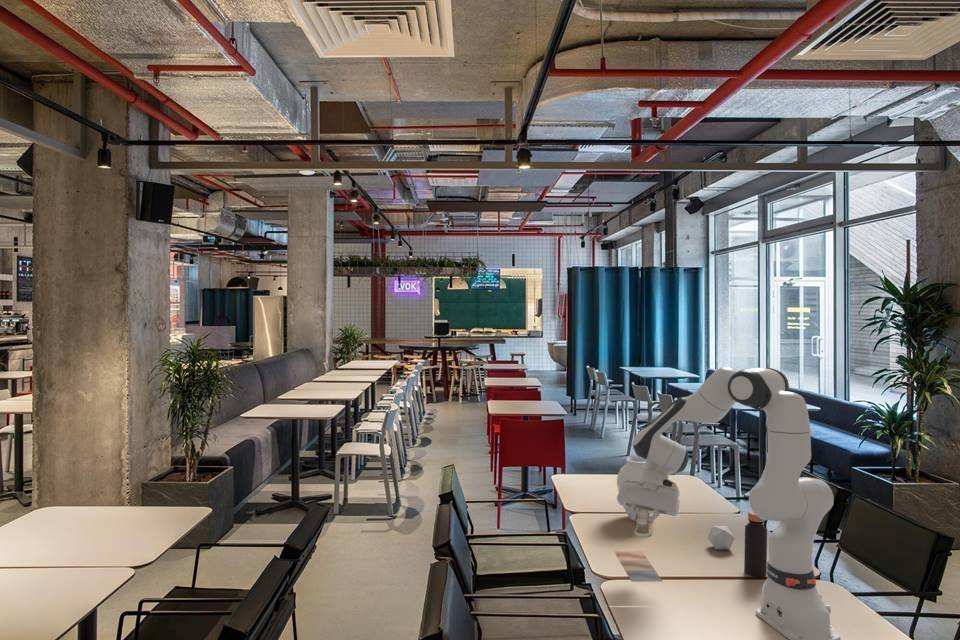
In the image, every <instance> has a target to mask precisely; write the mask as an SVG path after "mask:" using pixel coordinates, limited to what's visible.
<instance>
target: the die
mask: <svg viewBox="0 0 960 640" xmlns="http://www.w3.org/2000/svg"><path fill="white" fill-rule="evenodd" d="M735 538H736V537H735V536H734V534H733V532H732V531H731V529H729V527H728V526H727V525H712V526H711V529H710V531H709V533H708V536H707V539H708V540H709V542H710V543H711V545H712V547H713V548H714V549H715V550H717V551H718V550H720V551H721V550H725V551H726V550H731V548H732V545H733V543H734V541H735V540H736V539H735Z"/></svg>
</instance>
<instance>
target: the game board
mask: <svg viewBox="0 0 960 640" xmlns="http://www.w3.org/2000/svg"><path fill="white" fill-rule="evenodd" d="M614 553H615V555H616V557H617V559H618V560H619V562H620V565H621V566H622V567H623V569H624V571H625V572H626V575H627V576H628V578H629V580H630V582H663V580H662V578H661V577H660V576H659V574H658V572H657V571H656V570H655V568H654V567H653V565H652V563H651V562H650V561H649V559H648V558H647V556H646V555H645V553H644V551H642V550H641V551H637V550H633V551H632V550H630V551H629V550H628V551H627V550H626V551H625V550H624V551H622V550H621V551H618V550H617V551H615V550H614Z"/></svg>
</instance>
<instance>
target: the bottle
mask: <svg viewBox="0 0 960 640" xmlns="http://www.w3.org/2000/svg"><path fill="white" fill-rule="evenodd" d="M747 520H748V523H746V525H744V559H743V561H744V565H743V567H744V569H743V570H744V573H746V574H747V575H750V576H752V577H755V578H756V577H757V578H758V577H759V578H761V577H765V576H767V562H768V561H767V560H768V557H767V556H768V555H767V554H768V552H767V551H768V528H767V527H766V526H765V525H764V523H765V520H763V519H760V518H759V517H757V516H756V515H755V513H754V512H753V511H752V510H749V511H748V512H747Z"/></svg>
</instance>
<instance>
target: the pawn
mask: <svg viewBox="0 0 960 640" xmlns="http://www.w3.org/2000/svg"><path fill="white" fill-rule="evenodd" d="M648 517H649V512H648V510H647V509H645V508H640V509H638V511H637V516H636V521H635V522H636V525H635V528H634V529H633V535H634V536H636V537H638V538H642V539H643V538H650V537H652V531H651V530H650V523H648V521H647V520H648Z"/></svg>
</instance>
